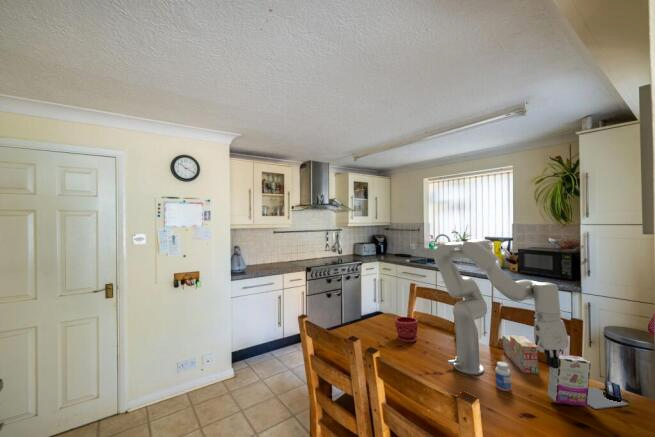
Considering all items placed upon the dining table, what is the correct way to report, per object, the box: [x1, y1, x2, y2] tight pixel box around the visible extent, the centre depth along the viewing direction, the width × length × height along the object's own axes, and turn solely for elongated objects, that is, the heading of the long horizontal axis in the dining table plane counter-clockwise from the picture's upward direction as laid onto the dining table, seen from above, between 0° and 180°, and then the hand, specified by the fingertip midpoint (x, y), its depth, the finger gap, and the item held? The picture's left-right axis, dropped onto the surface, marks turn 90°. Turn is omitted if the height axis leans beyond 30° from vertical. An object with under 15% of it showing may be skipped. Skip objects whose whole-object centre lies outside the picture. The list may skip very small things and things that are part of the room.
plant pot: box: [394, 316, 419, 343], centre depth 167 cm, size 13×13×12 cm
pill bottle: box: [494, 361, 512, 392], centre depth 115 cm, size 6×5×10 cm
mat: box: [587, 387, 629, 410], centre depth 107 cm, size 14×11×1 cm
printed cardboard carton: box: [502, 334, 539, 374], centre depth 136 cm, size 21×6×12 cm, turn 169°
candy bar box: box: [546, 353, 591, 407], centre depth 104 cm, size 11×5×16 cm, turn 87°
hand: (552, 366), depth 103 cm, fingers closed
